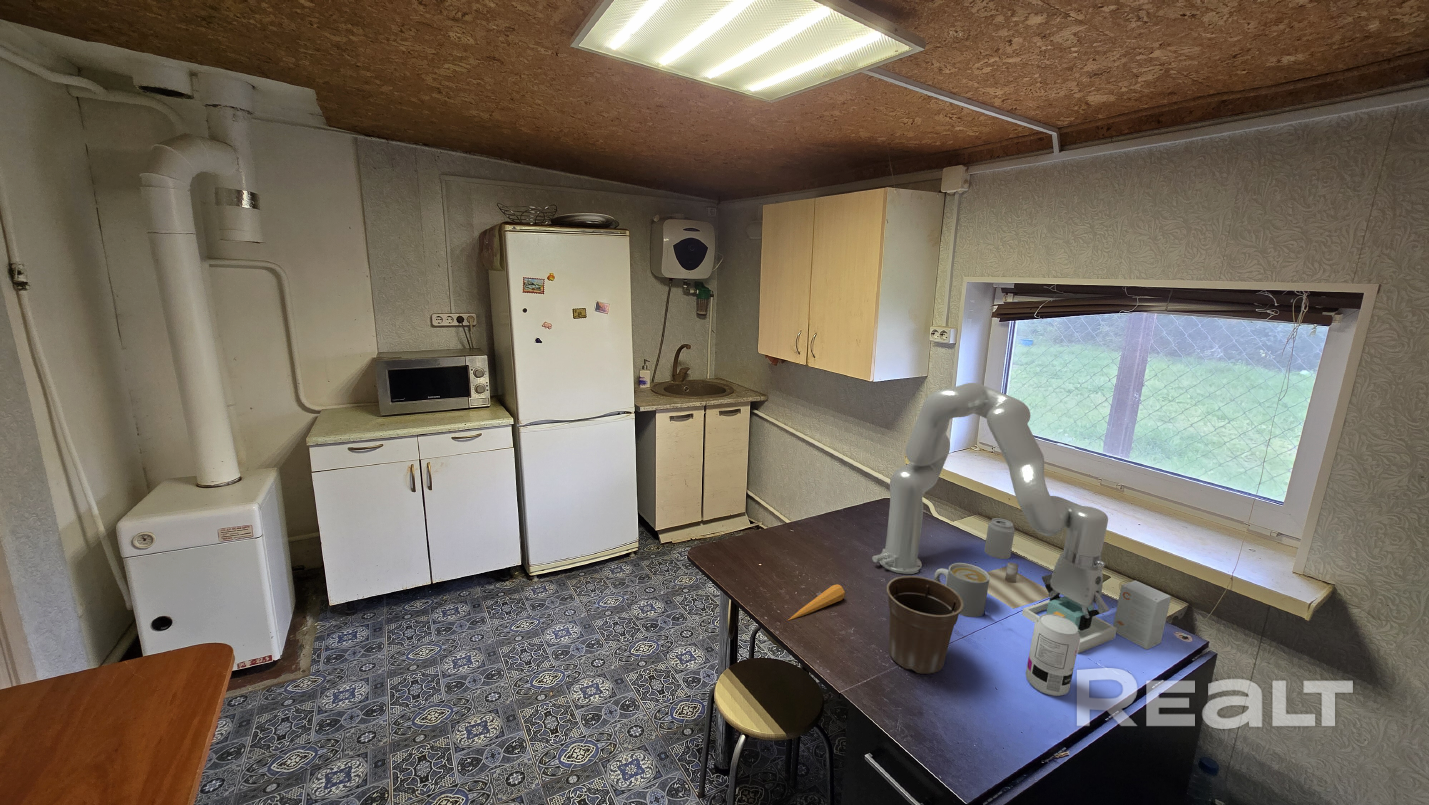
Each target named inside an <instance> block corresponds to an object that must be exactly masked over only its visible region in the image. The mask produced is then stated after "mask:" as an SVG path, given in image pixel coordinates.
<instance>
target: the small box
mask: <svg viewBox="0 0 1429 805" xmlns="http://www.w3.org/2000/svg"><path fill="white" fill-rule="evenodd" d="M1171 599H1172V596H1171V595H1169V594H1168V593H1164V592H1163V591H1160V590H1158V589H1156V588H1154V587H1151V586H1149V585H1147V584H1144V583H1143V582H1140V581H1137V580H1133V581H1130V582H1127V583H1124V584H1121V586H1120V591H1119V595H1118V600H1117V604H1116V605H1117V606H1116V611H1115V614H1114V619H1113V623H1112V625H1113V626H1114V627H1116V628H1117V630H1116V634H1117V635H1119V636H1120V637H1123V638H1124V639H1125V640H1128V641H1130V642H1132V643H1134V644H1135V645H1138V646H1139V647H1141V648H1143V649H1145V650H1148V649H1152V648H1153V647H1155V646H1157V645H1159V644H1161V642H1162V639H1163V638H1162V637H1163V633H1164V630H1165V626H1166V621H1167V618H1168V613H1169V609H1170V604H1171Z"/></svg>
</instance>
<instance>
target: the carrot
mask: <svg viewBox="0 0 1429 805" xmlns="http://www.w3.org/2000/svg"><path fill="white" fill-rule="evenodd" d="M845 594H846V591H845V590H844V588H843V586H841V585H840V584H838V583H837V584H834V585H831V586H830V587H828V588H827V589H825V590H824V591H823V592H821V594H819V595H818V596H816V597H815V598H814V599H813V600H811V601H810V602H808V603H807V604H805V605H804V606H803V607H802V608H800V609H799V610H798V611H797V612H796V613H794V614H793V615H792V616H791V617H790V618H789V619H787V620H786V621H788V622H789V621H791V620H794V619H797V618H800V617H803V616H805V615H808V614H811V613H813V612H815V611H817V610H820V609H823V608H825V607H827V606H831V605H832V604H835V603H837V602H840V601H843V599H844V598H845V596H846V595H845Z"/></svg>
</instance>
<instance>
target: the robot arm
mask: <svg viewBox="0 0 1429 805" xmlns="http://www.w3.org/2000/svg"><path fill="white" fill-rule="evenodd" d="M973 414H975V415H977V416H979V417H981V418H984V419H986V423H987V427H988V429H989V430H990V433H991V435H992V436H993V438H994V441H995V442H996V444H997V446H998V448H999V450H1000V452H1001V454H1002V456H1003V459H1004V461H1005V464H1007V468H1008V471H1009V476H1010V480H1011V481H1010V482H1011V484H1012V488H1013V492H1014V495H1015V498H1016V501H1017V503H1018V506H1019V507H1020V509H1021V511H1022V514H1023V516H1024V517H1025V519H1026V521H1027V523H1028V524H1029V526H1030V527H1031V528H1032V529H1033V531H1035V532H1036V533H1038V534H1040V535H1042V536H1047V537H1053V536H1056V535H1059V533H1061V532H1062V531H1063V530H1064V529H1066V530H1067V531H1066V538H1065V541H1064V542H1065V543H1064V547H1063V552H1062V553H1060V555H1059V557H1058V559H1057V561H1056V562H1055V565H1054V568H1053V572H1052V573H1050V574H1046V575H1043V576H1041V579H1042V582H1043V584H1044V585H1045V586H1044V587H1045V588H1046V589H1047V591H1048V593H1049V594H1048V596H1049V597H1048V598H1049V600H1050V601H1052V600H1055V599H1058V598H1061V597H1062V596H1063V597H1065V596H1066V597H1067V598H1069V599H1071V600H1073V601H1075V602H1077V603H1079V604H1081V607H1082V610H1083V614H1084V615H1082V616H1081V619H1080V624H1079V630H1080V631H1083V630H1085V629H1088V628H1090V626H1091V622H1092V617H1093V616H1096V617H1098V616H1099V615H1102V614H1104V613H1107V612H1109V611H1110V608H1109V607H1108V606H1107V604H1106V603H1105V601H1104V600H1103V598H1102V592H1103V582H1104V581H1103V580H1104V579H1103V578H1104V575H1103V573H1104V572H1103V568H1104V567H1105V566H1106V562H1105V561H1103V560H1102V552H1103V546H1104V542H1105V536H1106V532H1107V529H1108V528H1107V527H1108V523H1109V517H1108V514H1106V512H1104V511H1103V510H1101V509H1099V508H1096V507H1093V506H1086V505H1081V504H1079V503H1077V502H1073V501H1071V500H1068V499H1066V498H1065V497H1061V496H1056V495H1051V494H1050V493H1049V490H1048V487H1047V483H1046V478H1045V457H1044V453H1043V452H1042V450H1041V448H1040V446H1039V444H1038V442H1037V440H1036V438H1035V436H1034V434H1033V433H1032V430H1031V428H1030V426H1029V424H1028V423H1029V422H1030V420H1031V410H1030V408H1029V407H1028V405H1026V404H1025V402H1023V401H1021V400H1019V399H1018V398H1015V397H1013V396H1010V395H1008V394H1005V393H1003V392H1000V391H998V390H995V389H994V388H991V387H988V386H986V385H983V384H981V383H977V382H967V383H964V384H961V385H957V386H954V387H953V386H952V387H949V388H943V389H938V390H935V391H934V392H932V393H931V394H929V395H928V396H927V397H926V398H925V400H924V401H923V403H922V405H921V408H920V410H919V413H918V417H917V418H916V421H915V423H914V425H913V428H912V431H911V434H910V436H909V438H908V442H906V447H905V455H906V456H905V457H906V459H907V460H908V462H909V463H907V464H905V465H903V466H901V467H900V468H899V467H898V469H896V470H895V471H894V472H893V474H892V475H891V477H890V481H889V494H890V495H889V496H890V498H889V499H890V500H889V509H888V510H889V512H888V522H887V528H886V529H887V531H886V538H885V548H882V552H881V553H879V554H877V555H873V556H871V557H872V558H871V559H872V562H874V563H878V562H879V563H880V565H881V566H882V567H883V568H885V569H886V570H888V571H891V572H894V573H896V574H902V575H914V574H917V573H919V572H920V571H921V570H922V569H921V568H922V566H923V564H922V561H921V559H920V558H918V555H919V548H920V539H921V533H922V532H921V531H922V525H923V516H924V501H923V497H924V493H926V492H927V491H930V489H932V488H933V487H934V486H936V485H935V484H937V482H938V479H940V475H941V474H942V471H943V469H944V466H945V463H946V460H947V459H948V457H949V456H948V455H949V453H950V449H951V442H950V438H949V437H948V435H947V434H946V433H947V431H948V428H949V425H950V421H951V420H952V419H955V418H965V417H968V416H971V415H973ZM1060 595H1062V596H1060ZM1094 604H1096V606H1097V608H1096V609H1095V607H1094Z"/></svg>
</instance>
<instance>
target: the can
mask: <svg viewBox="0 0 1429 805" xmlns="http://www.w3.org/2000/svg"><path fill="white" fill-rule="evenodd" d="M1015 531H1016V529H1015V527H1014V522H1012V521H1010V520H1007V519H1004V518H1000V517H998V518H997V517H995V518H991V520H990V522H989V523H988V526H987V531H986V536H985V537H986V538H985V544H984V551H983V552H985V554H986V555H988V556H990V557H992V558H995V559H999V560H1007V559H1009V558H1011V555H1012V548H1013V543H1014V536H1015Z"/></svg>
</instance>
